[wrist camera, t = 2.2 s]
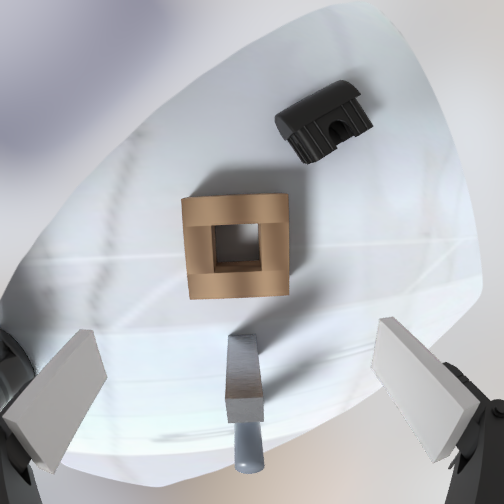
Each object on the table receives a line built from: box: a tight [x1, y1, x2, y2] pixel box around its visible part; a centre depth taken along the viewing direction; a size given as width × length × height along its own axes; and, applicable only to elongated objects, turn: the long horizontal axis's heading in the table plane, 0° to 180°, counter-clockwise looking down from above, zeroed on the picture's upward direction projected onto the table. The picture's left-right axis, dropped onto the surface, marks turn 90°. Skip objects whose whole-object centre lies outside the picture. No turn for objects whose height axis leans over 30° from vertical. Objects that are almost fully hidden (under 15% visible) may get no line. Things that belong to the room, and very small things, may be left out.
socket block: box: [181, 193, 289, 300], centre depth 35 cm, size 12×12×5 cm
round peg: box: [235, 422, 264, 474], centre depth 37 cm, size 4×4×14 cm
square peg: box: [225, 335, 264, 423], centre depth 35 cm, size 4×4×14 cm
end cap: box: [275, 80, 373, 164], centre depth 32 cm, size 10×7×7 cm
